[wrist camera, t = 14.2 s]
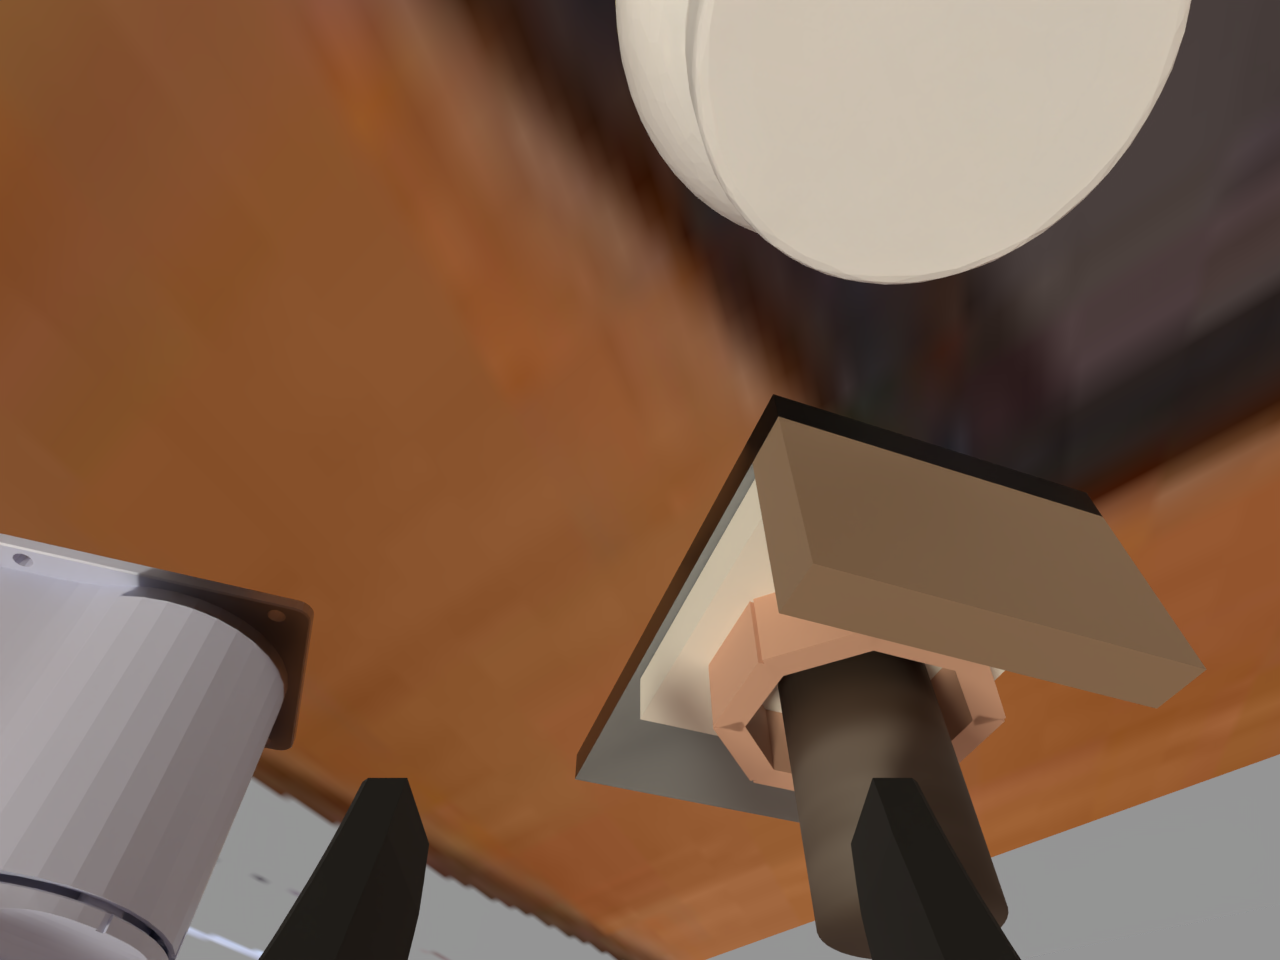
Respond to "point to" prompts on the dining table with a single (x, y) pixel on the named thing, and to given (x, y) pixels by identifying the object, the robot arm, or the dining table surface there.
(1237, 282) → the dining table surface
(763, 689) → the square socket base
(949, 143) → the supplement bottle
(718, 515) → the l-shaped bracket
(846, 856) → the dowel
